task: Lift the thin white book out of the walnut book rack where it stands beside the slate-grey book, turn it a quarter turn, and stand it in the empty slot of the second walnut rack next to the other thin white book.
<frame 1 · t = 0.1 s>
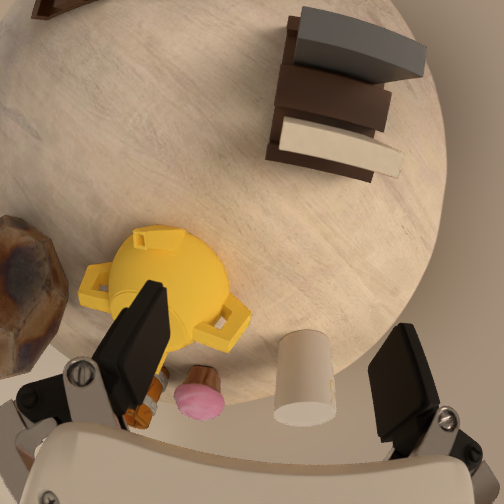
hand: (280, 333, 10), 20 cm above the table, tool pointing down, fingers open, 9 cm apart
white book: (323, 133, 24), point 1 cm above the table, touching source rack
cupcake: (207, 371, 47), on the table
mug: (136, 359, 49), on the table
cup: (304, 346, 40), on the table
grey book: (336, 62, 20), point 1 cm above the table, touching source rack
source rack: (329, 97, 22), on the table
teapot: (176, 271, 35), on the table
planter: (37, 259, 39), on the table
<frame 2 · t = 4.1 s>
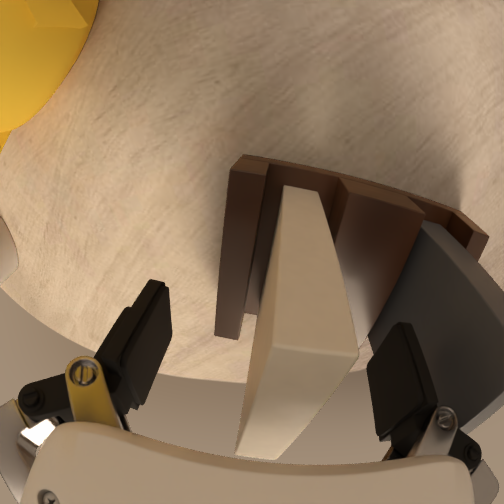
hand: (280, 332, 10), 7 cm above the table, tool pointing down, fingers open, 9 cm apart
white book: (285, 255, 15), point 1 cm above the table, touching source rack
grey book: (401, 277, 15), point 1 cm above the table, touching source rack
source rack: (345, 257, 16), on the table
teapot: (39, 33, 10), on the table
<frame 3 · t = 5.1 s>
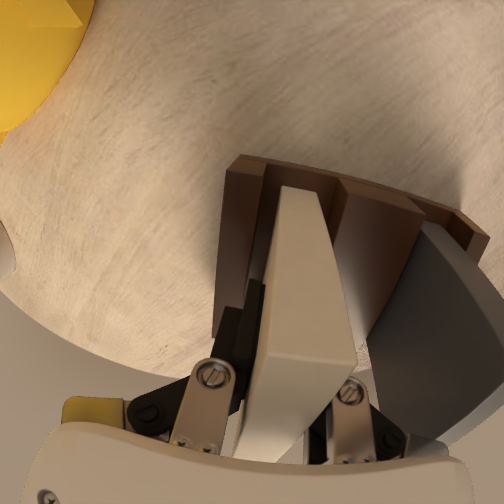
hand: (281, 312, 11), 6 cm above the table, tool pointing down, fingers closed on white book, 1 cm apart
white book: (283, 256, 15), point 1 cm above the table, touching gripper
grey book: (400, 277, 15), point 1 cm above the table, touching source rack
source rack: (344, 258, 16), on the table
teapot: (36, 33, 9), on the table
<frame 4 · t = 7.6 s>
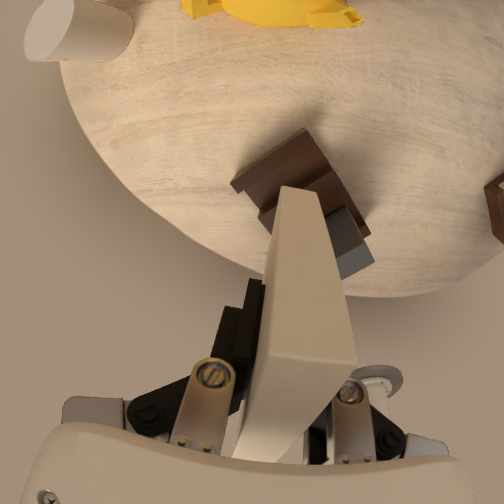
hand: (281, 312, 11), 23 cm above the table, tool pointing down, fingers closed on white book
white book: (283, 256, 15), point 18 cm above the table, touching gripper
cup: (109, 36, 23), on the table
grey book: (320, 224, 33), point 1 cm above the table, touching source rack
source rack: (303, 197, 32), on the table
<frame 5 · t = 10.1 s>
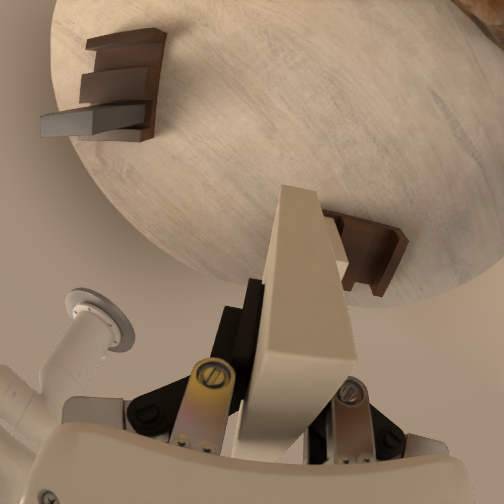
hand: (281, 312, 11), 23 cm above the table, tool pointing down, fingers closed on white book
white book: (283, 255, 15), point 19 cm above the table, touching gripper
grey book: (118, 113, 28), point 1 cm above the table, touching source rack
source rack: (125, 85, 27), on the table
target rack: (343, 246, 35), on the table
white book 2: (318, 244, 34), point 1 cm above the table, touching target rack
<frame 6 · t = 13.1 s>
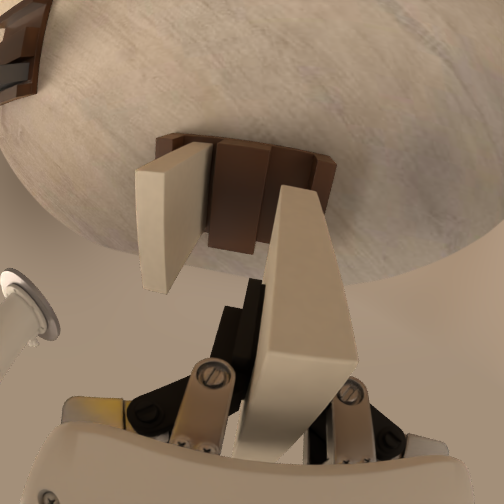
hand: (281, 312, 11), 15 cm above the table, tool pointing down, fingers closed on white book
white book: (284, 255, 15), point 10 cm above the table, touching gripper
grey book: (12, 77, 17), point 1 cm above the table, touching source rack
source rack: (21, 51, 16), on the table
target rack: (242, 189, 24), on the table
white book 2: (199, 186, 23), point 1 cm above the table, touching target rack
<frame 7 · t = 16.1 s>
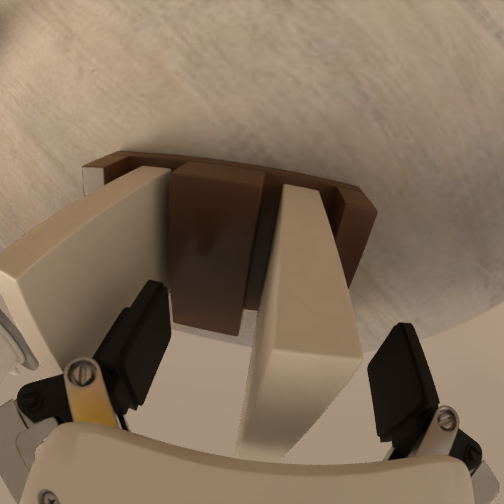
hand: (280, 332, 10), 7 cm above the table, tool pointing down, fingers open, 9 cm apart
white book: (285, 254, 15), point 1 cm above the table, touching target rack
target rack: (222, 235, 16), on the table
white book 2: (157, 232, 15), point 1 cm above the table, touching gripper, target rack
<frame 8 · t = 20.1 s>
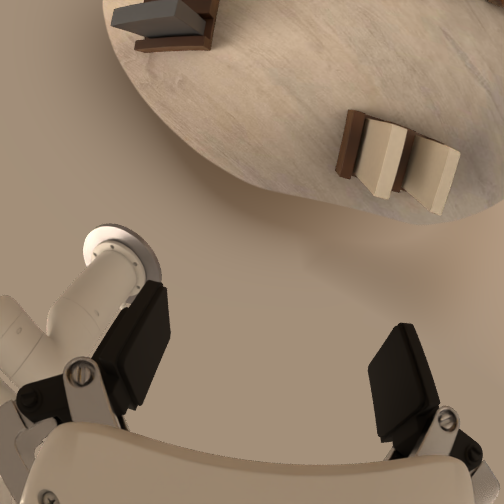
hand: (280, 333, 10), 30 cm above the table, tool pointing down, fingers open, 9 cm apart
white book: (411, 161, 32), point 1 cm above the table, touching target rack
grey book: (177, 29, 26), point 1 cm above the table, touching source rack
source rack: (183, 10, 25), on the table
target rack: (387, 153, 33), on the table
white book 2: (365, 147, 32), point 1 cm above the table, touching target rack
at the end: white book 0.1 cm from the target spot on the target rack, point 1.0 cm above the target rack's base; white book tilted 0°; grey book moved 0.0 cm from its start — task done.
